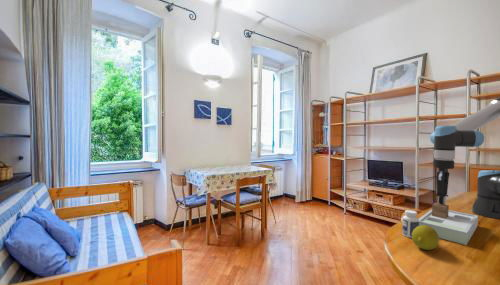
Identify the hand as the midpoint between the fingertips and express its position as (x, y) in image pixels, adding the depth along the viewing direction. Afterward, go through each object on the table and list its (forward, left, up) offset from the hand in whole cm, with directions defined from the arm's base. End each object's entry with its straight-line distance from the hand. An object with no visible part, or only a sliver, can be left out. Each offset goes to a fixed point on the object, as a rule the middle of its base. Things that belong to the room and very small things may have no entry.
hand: (441, 210), depth 112 cm
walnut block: (+3, +2, -2) cm, 4 cm away
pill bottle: (+27, +9, -6) cm, 29 cm away
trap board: (+4, +6, -6) cm, 9 cm away
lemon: (+31, +19, -6) cm, 37 cm away
